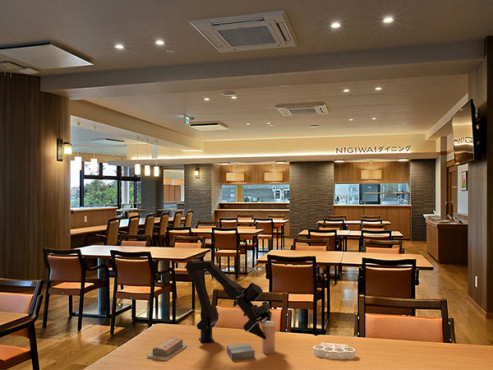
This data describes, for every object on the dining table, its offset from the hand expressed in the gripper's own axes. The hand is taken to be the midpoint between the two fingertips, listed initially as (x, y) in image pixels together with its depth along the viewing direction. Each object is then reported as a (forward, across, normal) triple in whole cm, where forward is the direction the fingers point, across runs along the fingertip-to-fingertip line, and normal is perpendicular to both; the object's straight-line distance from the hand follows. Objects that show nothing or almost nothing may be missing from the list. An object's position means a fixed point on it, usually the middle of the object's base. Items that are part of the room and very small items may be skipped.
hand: (270, 335), depth 194 cm
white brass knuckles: (+24, +11, -12) cm, 29 cm away
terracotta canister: (+5, 0, +6) cm, 7 cm away
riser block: (-2, -9, +12) cm, 15 cm away
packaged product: (-23, -21, +34) cm, 47 cm away
